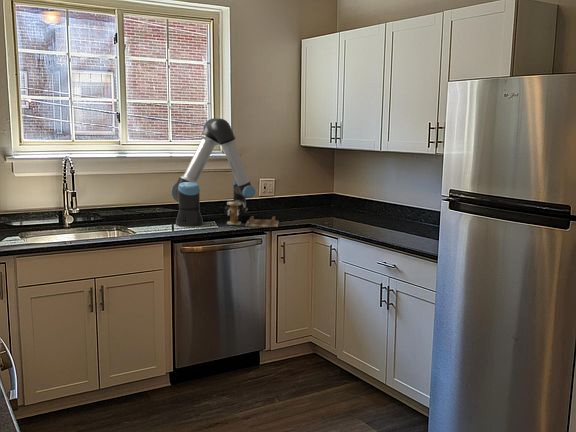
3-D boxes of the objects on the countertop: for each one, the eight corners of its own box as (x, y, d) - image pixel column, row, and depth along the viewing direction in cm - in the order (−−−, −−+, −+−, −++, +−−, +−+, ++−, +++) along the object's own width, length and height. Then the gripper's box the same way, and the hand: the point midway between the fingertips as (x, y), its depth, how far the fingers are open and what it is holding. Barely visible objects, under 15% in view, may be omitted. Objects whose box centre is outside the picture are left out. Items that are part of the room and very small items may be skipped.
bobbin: (230, 225, 333) (230, 203, 331) (224, 223, 340) (224, 201, 338) (243, 224, 337) (243, 203, 335) (237, 222, 344) (237, 201, 342)
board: (245, 226, 333) (245, 219, 333) (247, 222, 347) (247, 215, 347) (277, 226, 333) (277, 220, 332) (278, 222, 347) (278, 216, 346)
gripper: (252, 213, 355) (248, 220, 332) (223, 213, 356) (217, 219, 333) (252, 201, 354) (248, 206, 331) (223, 200, 354) (217, 206, 331)
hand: (232, 213), depth 332 cm, fingers closed on bobbin, 4 cm apart
